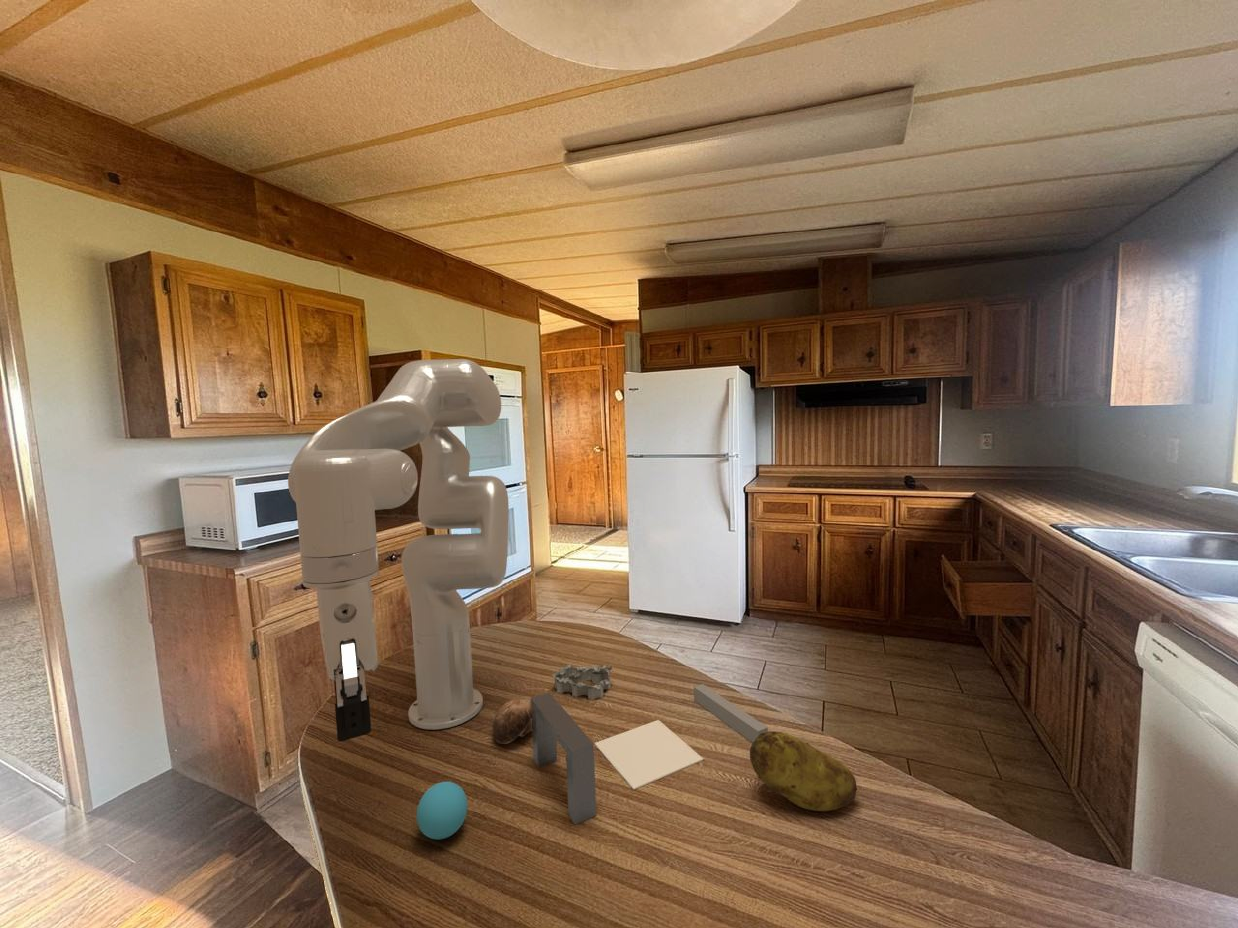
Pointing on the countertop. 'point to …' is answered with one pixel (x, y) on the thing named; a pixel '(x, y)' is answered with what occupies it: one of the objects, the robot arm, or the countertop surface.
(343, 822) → the countertop surface
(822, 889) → the countertop surface
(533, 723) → the bridge
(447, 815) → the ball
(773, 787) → the potato
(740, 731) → the wall
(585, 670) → the grey scalloped ring
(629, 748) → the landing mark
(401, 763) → the countertop surface
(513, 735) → the brown rounded lump
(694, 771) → the countertop surface
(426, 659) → the robot arm
